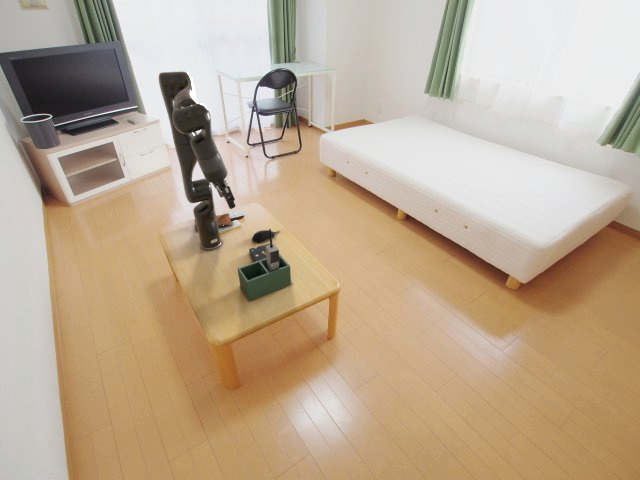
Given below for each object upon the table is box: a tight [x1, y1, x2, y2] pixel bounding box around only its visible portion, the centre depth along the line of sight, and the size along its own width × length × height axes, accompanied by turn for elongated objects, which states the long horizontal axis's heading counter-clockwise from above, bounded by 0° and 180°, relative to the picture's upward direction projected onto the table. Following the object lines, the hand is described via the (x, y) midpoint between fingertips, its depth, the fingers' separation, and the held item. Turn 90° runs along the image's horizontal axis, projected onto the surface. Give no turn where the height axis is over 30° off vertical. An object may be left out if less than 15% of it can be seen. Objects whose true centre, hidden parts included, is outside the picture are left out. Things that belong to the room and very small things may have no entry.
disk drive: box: [248, 243, 270, 263], centre depth 152 cm, size 10×3×15 cm
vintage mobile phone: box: [265, 228, 280, 272], centre depth 133 cm, size 4×5×25 cm
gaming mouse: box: [251, 229, 280, 244], centre depth 166 cm, size 6×15×4 cm, turn 129°
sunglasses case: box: [194, 213, 233, 233], centre depth 175 cm, size 18×7×7 cm, turn 114°
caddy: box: [237, 253, 292, 302], centre depth 136 cm, size 10×18×10 cm, turn 123°
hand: (227, 201), depth 123 cm, fingers open, 8 cm apart
